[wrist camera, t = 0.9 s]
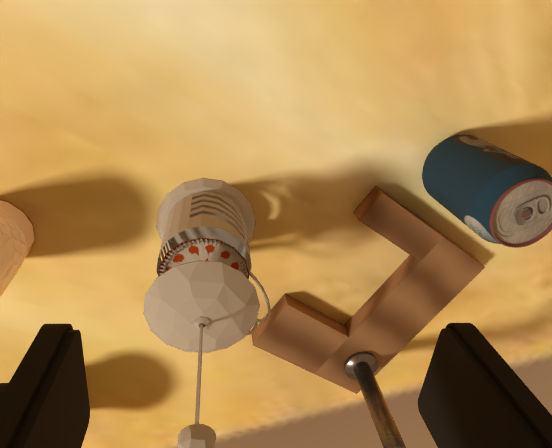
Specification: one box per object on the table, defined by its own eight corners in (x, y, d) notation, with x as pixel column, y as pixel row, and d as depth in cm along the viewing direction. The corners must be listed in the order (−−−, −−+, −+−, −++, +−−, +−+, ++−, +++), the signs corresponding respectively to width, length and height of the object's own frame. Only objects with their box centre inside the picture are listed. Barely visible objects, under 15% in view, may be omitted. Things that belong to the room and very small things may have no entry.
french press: (201, 157, 39) (180, 345, 17) (287, 230, 43) (362, 454, 21) (135, 228, 41) (39, 477, 19) (224, 290, 46) (231, 550, 23)
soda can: (426, 207, 44) (493, 268, 34) (408, 151, 41) (475, 197, 30) (488, 178, 44) (576, 230, 33) (474, 118, 41) (566, 155, 30)
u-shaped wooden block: (375, 185, 42) (382, 193, 41) (474, 258, 48) (484, 267, 46) (251, 333, 49) (252, 345, 47) (352, 381, 54) (356, 393, 53)
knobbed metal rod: (408, 295, 47) (508, 440, 31) (432, 310, 48) (540, 456, 32) (337, 369, 50) (393, 533, 34) (361, 380, 52) (426, 543, 36)
